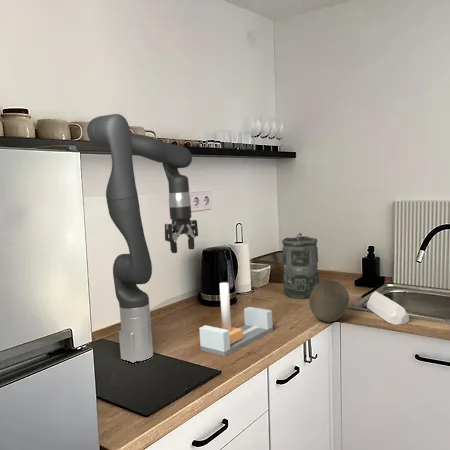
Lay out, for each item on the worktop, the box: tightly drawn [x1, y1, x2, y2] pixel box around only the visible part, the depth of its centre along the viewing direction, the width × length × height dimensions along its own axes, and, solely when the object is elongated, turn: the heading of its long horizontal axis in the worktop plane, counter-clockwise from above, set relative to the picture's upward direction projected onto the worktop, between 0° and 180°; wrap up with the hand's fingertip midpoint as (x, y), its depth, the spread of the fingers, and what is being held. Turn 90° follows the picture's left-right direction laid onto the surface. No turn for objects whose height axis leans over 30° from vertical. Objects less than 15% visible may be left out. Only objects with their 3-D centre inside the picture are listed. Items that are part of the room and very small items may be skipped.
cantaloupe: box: [309, 280, 350, 323], centre depth 171 cm, size 14×14×15 cm
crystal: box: [366, 290, 410, 326], centre depth 174 cm, size 7×7×24 cm
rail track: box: [199, 306, 274, 358], centre depth 157 cm, size 27×10×8 cm, turn 141°
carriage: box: [219, 281, 243, 344], centre depth 151 cm, size 8×7×19 cm
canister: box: [281, 232, 320, 300], centre depth 210 cm, size 16×16×28 cm
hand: (183, 251), depth 164 cm, fingers open, 8 cm apart
